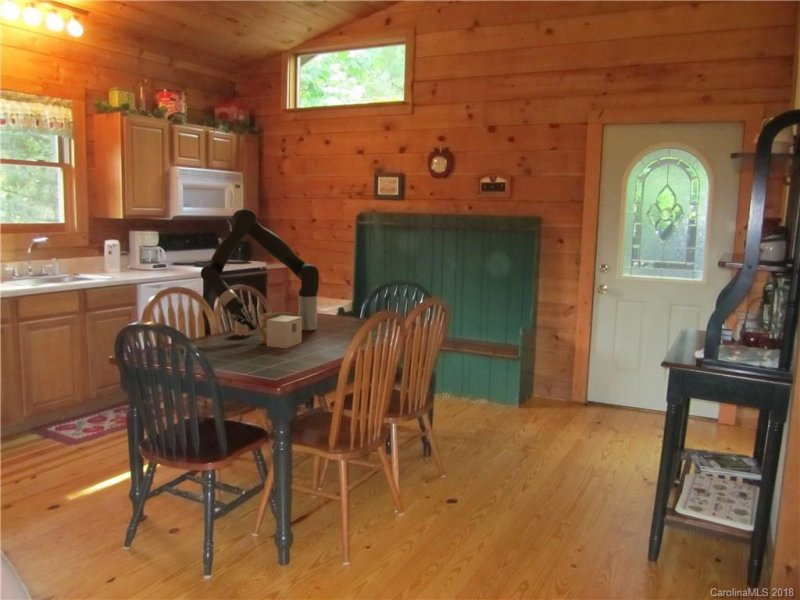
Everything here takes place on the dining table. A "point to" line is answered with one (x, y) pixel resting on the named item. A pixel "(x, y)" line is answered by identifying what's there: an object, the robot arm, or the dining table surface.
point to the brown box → (263, 325)
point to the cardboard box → (284, 331)
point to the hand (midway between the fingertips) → (254, 329)
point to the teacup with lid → (242, 329)
